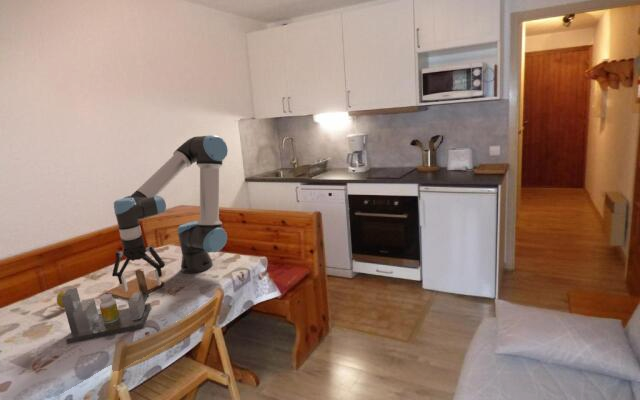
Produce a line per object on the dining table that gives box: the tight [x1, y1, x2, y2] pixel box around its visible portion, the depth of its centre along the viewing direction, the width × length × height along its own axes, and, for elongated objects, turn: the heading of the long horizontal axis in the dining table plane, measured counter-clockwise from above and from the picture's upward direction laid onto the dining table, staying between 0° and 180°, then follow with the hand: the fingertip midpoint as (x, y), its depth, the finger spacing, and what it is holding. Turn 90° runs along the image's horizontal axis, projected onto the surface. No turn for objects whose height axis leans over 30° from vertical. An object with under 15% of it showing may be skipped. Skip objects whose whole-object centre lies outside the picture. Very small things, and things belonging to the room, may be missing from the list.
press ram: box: [127, 268, 150, 320], centre depth 152 cm, size 3×19×13 cm, turn 13°
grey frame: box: [61, 287, 152, 345], centre depth 145 cm, size 25×16×16 cm, turn 103°
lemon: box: [56, 290, 67, 309], centre depth 165 cm, size 6×6×8 cm
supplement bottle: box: [99, 293, 119, 323], centre depth 145 cm, size 5×5×10 cm
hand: (143, 287), depth 160 cm, fingers open, 12 cm apart
